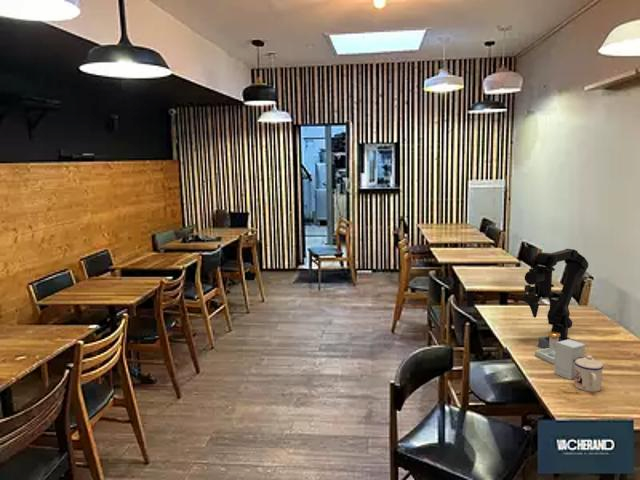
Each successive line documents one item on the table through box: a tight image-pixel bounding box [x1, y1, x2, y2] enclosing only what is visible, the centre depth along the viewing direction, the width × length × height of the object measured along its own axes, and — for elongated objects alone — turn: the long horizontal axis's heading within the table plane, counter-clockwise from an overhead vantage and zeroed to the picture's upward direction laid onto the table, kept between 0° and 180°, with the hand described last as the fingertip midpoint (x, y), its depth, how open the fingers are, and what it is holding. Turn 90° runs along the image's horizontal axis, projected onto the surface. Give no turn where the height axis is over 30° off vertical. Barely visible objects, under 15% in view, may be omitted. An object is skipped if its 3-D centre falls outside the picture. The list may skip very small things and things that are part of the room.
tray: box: [534, 348, 555, 366], centre depth 211 cm, size 10×10×2 cm
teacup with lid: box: [573, 354, 604, 393], centre depth 182 cm, size 12×9×12 cm
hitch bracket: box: [537, 335, 564, 349], centre depth 222 cm, size 8×8×4 cm
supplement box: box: [553, 339, 586, 381], centre depth 194 cm, size 7×7×13 cm
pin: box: [547, 331, 560, 358], centre depth 210 cm, size 5×5×10 cm
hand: (543, 316), depth 226 cm, fingers open, 9 cm apart
